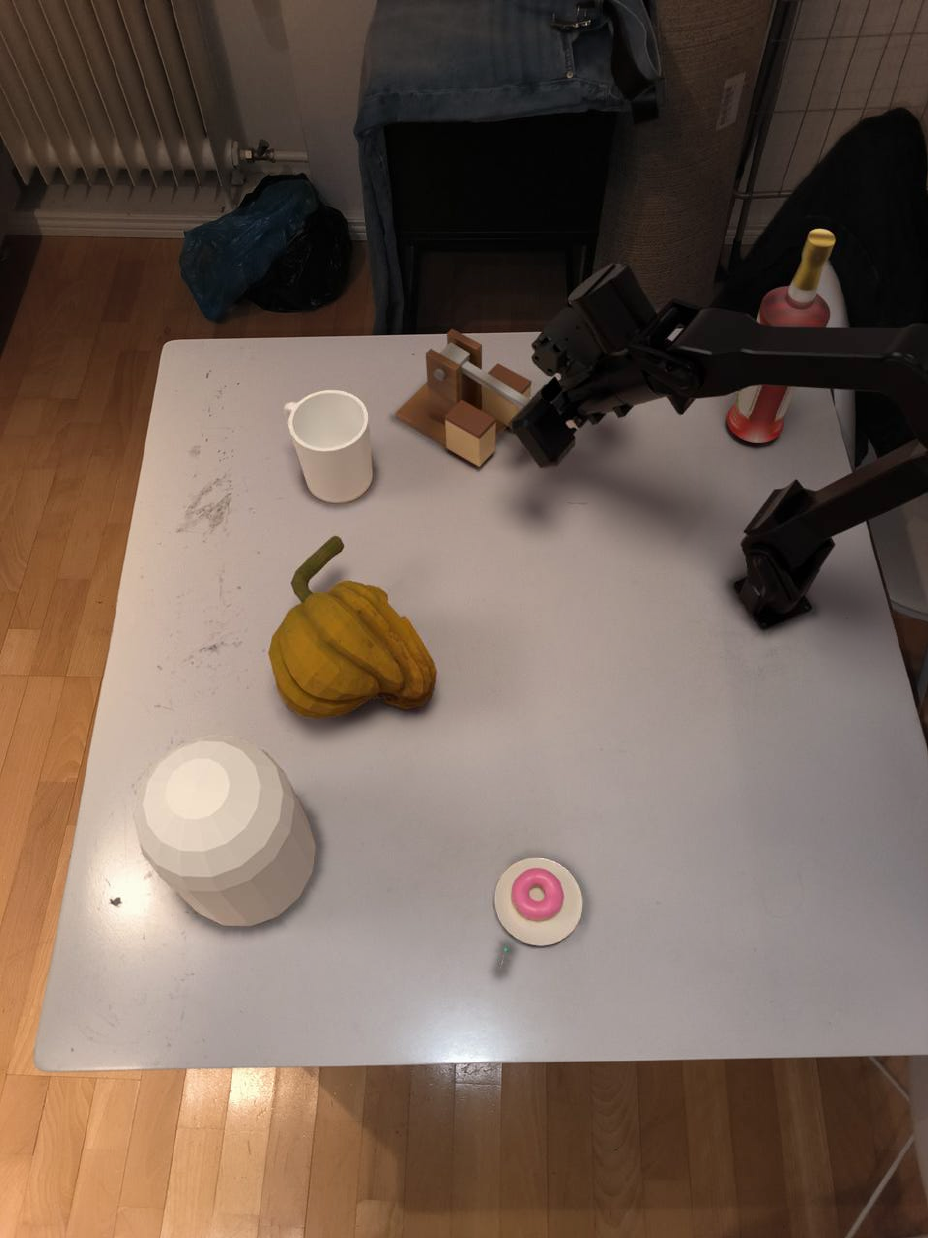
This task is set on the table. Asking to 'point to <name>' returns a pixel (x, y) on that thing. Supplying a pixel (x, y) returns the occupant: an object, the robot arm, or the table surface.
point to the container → (225, 830)
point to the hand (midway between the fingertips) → (535, 406)
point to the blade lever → (487, 379)
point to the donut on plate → (538, 901)
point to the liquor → (783, 307)
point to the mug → (332, 444)
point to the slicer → (444, 391)
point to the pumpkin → (346, 648)
